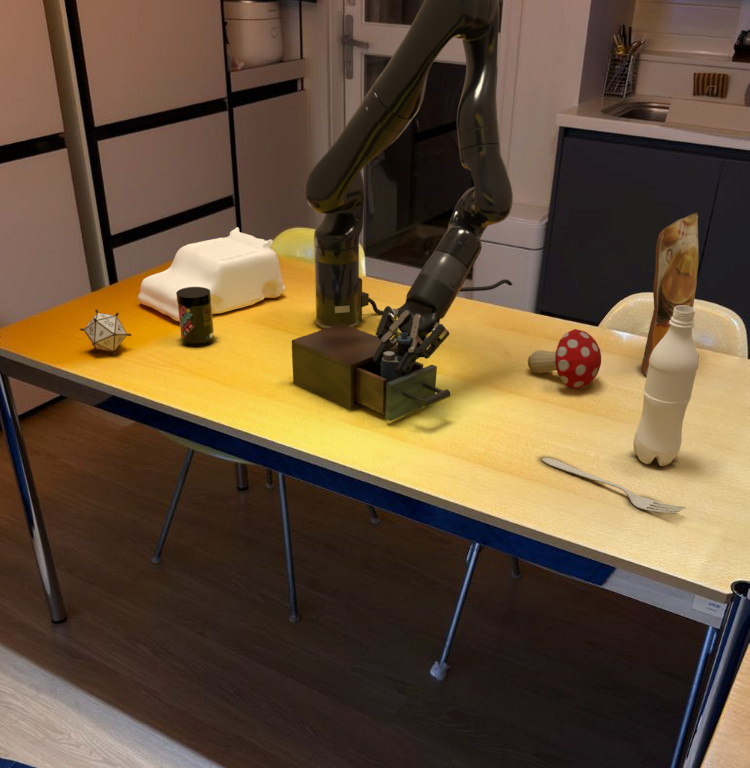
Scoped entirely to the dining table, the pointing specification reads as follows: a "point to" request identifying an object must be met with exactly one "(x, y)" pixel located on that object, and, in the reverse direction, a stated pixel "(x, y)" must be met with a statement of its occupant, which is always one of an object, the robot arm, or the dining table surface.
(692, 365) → the water bottle
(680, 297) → the pancake mix bag
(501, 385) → the dining table surface
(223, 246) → the white toy car
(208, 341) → the supplement container
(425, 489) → the dining table surface
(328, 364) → the cabinet
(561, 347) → the decorative mushroom
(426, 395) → the drawer
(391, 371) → the vaping device
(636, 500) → the fork
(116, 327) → the game die
